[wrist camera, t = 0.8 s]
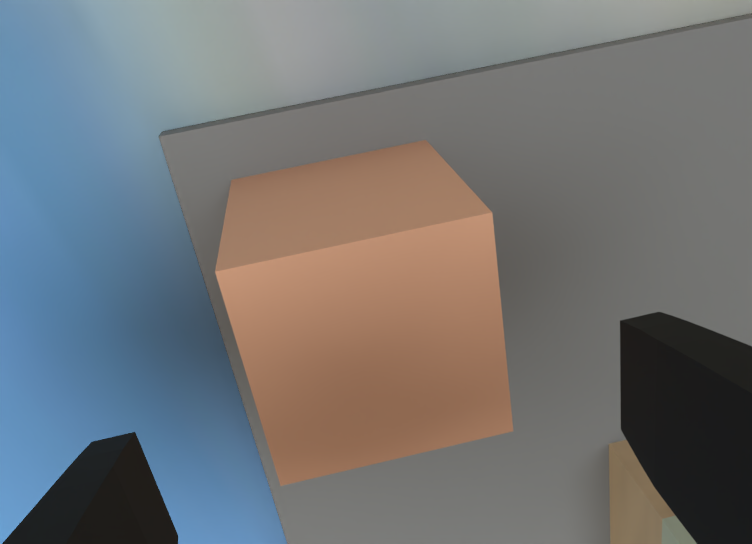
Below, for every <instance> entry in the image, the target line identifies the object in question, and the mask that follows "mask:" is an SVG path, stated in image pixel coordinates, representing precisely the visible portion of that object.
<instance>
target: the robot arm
mask: <svg viewBox="0 0 752 544" xmlns="http://www.w3.org/2000/svg"><path fill="white" fill-rule="evenodd" d="M620 391H621V431H622V432H623V434H624V436H625V438H626V440H627V441H628V443H629V445H630V447H631V448H632V450H633V452H634V454H635V456H636V457H637V459H638V461H639V463H640V464H641V466H642V468H643V469H644V471H645V473H646V474H647V476H648V478H649V479H650V481H651V483H652V484H653V486H654V488H655V489H656V490H657V492H658V493H659V494H660V496H661V497H662V498H663V500H664V501H665V502H666V504H667V505H668V506H669V508H670V509H671V510H672V512H673V513H674V514H675V516H676V517H677V518H678V520H679V521H680V522H681V523H682V525H683V526H684V527H685V529H686V530H687V531H688V533H689V534H690V535H691V537H692V538H693V539H694V540H695V542H696V543H697V544H752V346H750V345H747V344H745V343H742V342H740V341H737V340H735V339H732V338H730V337H727V336H725V335H722V334H720V333H717V332H715V331H712V330H709V329H707V328H704V327H702V326H699V325H697V324H694V323H691V322H689V321H686V320H683V319H680V318H677V317H675V316H672V315H668V314H665V313H662V312H655V313H651V314H647V315H642V316H638V317H633V318H629V319H625V320H620ZM2 544H178V535H177V532H176V530H175V527H174V525H173V523H172V520H171V518H170V515H169V513H168V510H167V508H166V506H165V503H164V501H163V498H162V496H161V494H160V491H159V489H158V486H157V484H156V481H155V479H154V477H153V474H152V472H151V469H150V467H149V465H148V462H147V460H146V457H145V455H144V453H143V450H142V448H141V445H140V443H139V440H138V438H137V436H136V433H135V432H133V433H128V434H124V435H120V436H115V437H111V438H107V439H102V440H98V441H94V442H91V443H90V444H89V446H88V447H87V448H86V449H85V450H84V451H83V452H82V453H81V454H80V455H79V456H78V457H77V458H76V459H75V461H74V462H73V463H72V464H71V465H70V466H69V467H68V468H67V470H66V471H65V472H64V473H63V474H62V475H61V477H60V478H59V479H58V480H57V481H56V482H55V483H54V485H53V486H52V487H51V488H50V489H49V490H48V492H47V493H46V494H45V495H44V496H43V497H42V499H41V500H40V501H39V502H38V503H37V504H36V506H35V507H34V508H33V509H32V510H31V511H30V513H29V514H28V515H27V516H26V517H25V518H24V519H23V521H22V522H21V523H20V524H19V525H18V526H17V527H16V529H15V530H14V531H13V532H12V533H11V534H10V535H9V537H8V538H7V539H6V540H5V541H4V542H3V543H2Z"/></svg>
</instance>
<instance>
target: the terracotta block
mask: <svg viewBox="0 0 752 544" xmlns="http://www.w3.org/2000/svg"><path fill="white" fill-rule="evenodd" d="M215 274H216V277H217V280H218V283H219V287H220V290H221V293H222V296H223V300H224V303H225V306H226V309H227V313H228V316H229V319H230V322H231V326H232V329H233V332H234V336H235V339H236V342H237V345H238V349H239V352H240V355H241V358H242V362H243V365H244V368H245V371H246V375H247V378H248V381H249V385H250V388H251V391H252V394H253V398H254V401H255V404H256V407H257V411H258V414H259V417H260V420H261V424H262V427H263V430H264V434H265V437H266V440H267V443H268V447H269V450H270V453H271V456H272V460H273V463H274V466H275V469H276V473H277V476H278V479H279V482H280V486H283V485H287V484H291V483H296V482H300V481H304V480H308V479H313V478H317V477H321V476H325V475H330V474H334V473H338V472H342V471H347V470H351V469H355V468H359V467H364V466H368V465H372V464H376V463H381V462H385V461H389V460H393V459H398V458H402V457H406V456H410V455H415V454H419V453H423V452H427V451H432V450H436V449H440V448H444V447H449V446H453V445H457V444H461V443H466V442H470V441H474V440H478V439H483V438H487V437H491V436H495V435H500V434H504V433H508V432H512V431H513V422H512V411H511V401H510V391H509V380H508V370H507V360H506V349H505V339H504V328H503V318H502V308H501V297H500V287H499V276H498V266H497V256H496V245H495V235H494V225H493V214H492V212H491V210H490V209H489V208H488V207H487V206H486V205H485V204H484V203H483V202H482V201H481V200H480V198H479V197H478V196H477V195H476V194H475V193H474V192H473V191H472V190H471V189H470V188H469V186H468V185H467V184H466V183H465V182H464V181H463V180H462V179H461V178H460V177H459V175H458V174H457V173H456V172H455V171H454V170H453V169H452V168H451V167H450V166H449V165H448V163H447V162H446V161H445V160H444V159H443V158H442V157H441V156H440V155H439V154H438V153H437V151H436V150H435V149H434V148H433V147H432V146H431V145H430V144H429V143H428V142H427V141H426V140H423V141H418V142H413V143H408V144H403V145H399V146H394V147H389V148H384V149H379V150H374V151H369V152H365V153H360V154H355V155H350V156H345V157H340V158H335V159H331V160H326V161H321V162H316V163H311V164H306V165H301V166H297V167H292V168H287V169H282V170H277V171H272V172H267V173H263V174H258V175H253V176H248V177H243V178H238V179H233V180H231V185H230V190H229V196H228V202H227V207H226V213H225V218H224V224H223V230H222V235H221V241H220V246H219V252H218V258H217V263H216V269H215Z"/></svg>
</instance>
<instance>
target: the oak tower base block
mask: <svg viewBox="0 0 752 544" xmlns="http://www.w3.org/2000/svg"><path fill="white" fill-rule="evenodd" d="M609 488H610V544H662V519H663V518H667V517H672V516H675V514H674V513H673V512H672V510H671V509H670V508H669V506H668V505H667V504H666V502H665V501H664V500H663V498H662V497H661V496H660V494H659V493H658V492H657V490H656V489H655V488H654V486H653V484H652V483H651V481H650V479H649V478H648V476H647V474H646V473H645V471H644V469H643V468H642V466H641V464H640V463H639V461H638V459H637V457H636V456H635V454H634V452H633V450H632V448H631V447H630V445H629V443H628V441H627V440H623V441H619V442H615V443H610V444H609Z"/></svg>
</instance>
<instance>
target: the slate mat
mask: <svg viewBox="0 0 752 544" xmlns="http://www.w3.org/2000/svg"><path fill="white" fill-rule="evenodd" d="M159 139H160V142H161V145H162V148H163V152H164V155H165V158H166V161H167V164H168V167H169V171H170V174H171V177H172V180H173V183H174V186H175V190H176V193H177V196H178V199H179V202H180V205H181V209H182V212H183V215H184V218H185V221H186V224H187V227H188V231H189V234H190V237H191V240H192V243H193V246H194V250H195V253H196V256H197V259H198V262H199V265H200V269H201V272H202V275H203V278H204V281H205V284H206V288H207V291H208V294H209V297H210V300H211V303H212V307H213V310H214V313H215V316H216V319H217V322H218V326H219V329H220V332H221V335H222V338H223V341H224V344H225V348H226V351H227V354H228V357H229V360H230V363H231V367H232V370H233V373H234V376H235V379H236V382H237V386H238V389H239V392H240V395H241V398H242V401H243V405H244V408H245V411H246V414H247V417H248V420H249V424H250V427H251V430H252V433H253V436H254V439H255V442H256V446H257V449H258V452H259V455H260V458H261V461H262V465H263V468H264V471H265V474H266V477H267V480H268V484H269V487H270V490H271V493H272V496H273V499H274V503H275V506H276V509H277V512H278V515H279V518H280V522H281V525H282V528H283V531H284V534H285V537H286V541H287V544H610V488H609V444H610V443H615V442H619V441H623V440H626V438H625V436H624V434H623V432H622V431H621V391H620V320H625V319H629V318H633V317H638V316H642V315H647V314H651V313H655V312H662V313H665V314H668V315H672V316H675V317H677V318H680V319H683V320H686V321H689V322H691V323H694V324H697V325H699V326H702V327H704V328H707V329H709V330H712V331H715V332H717V333H720V334H722V335H725V336H727V337H730V338H732V339H735V340H737V341H740V342H742V343H745V344H747V345H750V346H752V14H748V15H743V16H738V17H733V18H728V19H723V20H718V21H713V22H708V23H703V24H698V25H693V26H688V27H683V28H678V29H673V30H668V31H663V32H658V33H653V34H648V35H643V36H638V37H633V38H628V39H623V40H618V41H613V42H608V43H603V44H598V45H593V46H588V47H583V48H578V49H573V50H568V51H563V52H558V53H553V54H548V55H543V56H538V57H533V58H528V59H523V60H518V61H513V62H508V63H503V64H498V65H493V66H488V67H483V68H478V69H473V70H468V71H463V72H458V73H453V74H448V75H443V76H438V77H433V78H428V79H423V80H418V81H413V82H408V83H403V84H398V85H393V86H388V87H383V88H378V89H373V90H368V91H363V92H358V93H353V94H348V95H343V96H338V97H333V98H328V99H323V100H318V101H313V102H308V103H303V104H298V105H293V106H288V107H283V108H278V109H273V110H268V111H263V112H258V113H253V114H248V115H243V116H238V117H233V118H228V119H223V120H218V121H213V122H208V123H203V124H198V125H193V126H188V127H183V128H178V129H173V130H168V131H163V132H162V133H161V134H160V136H159ZM423 140H426V141H427V142H428V143H429V144H430V145H431V146H432V147H433V148H434V149H435V150H436V151H437V153H438V154H439V155H440V156H441V157H442V158H443V159H444V160H445V161H446V162H447V163H448V165H449V166H450V167H451V168H452V169H453V170H454V171H455V172H456V173H457V174H458V175H459V177H460V178H461V179H462V180H463V181H464V182H465V183H466V184H467V185H468V186H469V188H470V189H471V190H472V191H473V192H474V193H475V194H476V195H477V196H478V197H479V198H480V200H481V201H482V202H483V203H484V204H485V205H486V206H487V207H488V208H489V209H490V210H491V212H492V214H493V225H494V235H495V245H496V256H497V266H498V276H499V287H500V297H501V308H502V318H503V328H504V339H505V349H506V360H507V370H508V380H509V391H510V401H511V411H512V422H513V431H512V432H508V433H504V434H500V435H495V436H491V437H487V438H483V439H478V440H474V441H470V442H466V443H461V444H457V445H453V446H449V447H444V448H440V449H436V450H432V451H427V452H423V453H419V454H415V455H410V456H406V457H402V458H398V459H393V460H389V461H385V462H381V463H376V464H372V465H368V466H364V467H359V468H355V469H351V470H347V471H342V472H338V473H334V474H330V475H325V476H321V477H317V478H313V479H308V480H304V481H300V482H296V483H291V484H287V485H283V486H280V482H279V479H278V476H277V473H276V469H275V466H274V463H273V460H272V456H271V453H270V450H269V447H268V443H267V440H266V437H265V434H264V430H263V427H262V424H261V420H260V417H259V414H258V411H257V407H256V404H255V401H254V398H253V394H252V391H251V388H250V385H249V381H248V378H247V375H246V371H245V368H244V365H243V362H242V358H241V355H240V352H239V349H238V345H237V342H236V339H235V336H234V332H233V329H232V326H231V322H230V319H229V316H228V313H227V309H226V306H225V303H224V300H223V296H222V293H221V290H220V287H219V283H218V280H217V277H216V274H215V269H216V263H217V258H218V252H219V246H220V241H221V235H222V230H223V224H224V218H225V213H226V207H227V202H228V196H229V190H230V185H231V180H233V179H238V178H243V177H248V176H253V175H258V174H263V173H267V172H272V171H277V170H282V169H287V168H292V167H297V166H301V165H306V164H311V163H316V162H321V161H326V160H331V159H335V158H340V157H345V156H350V155H355V154H360V153H365V152H369V151H374V150H379V149H384V148H389V147H394V146H399V145H403V144H408V143H413V142H418V141H423Z"/></svg>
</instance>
